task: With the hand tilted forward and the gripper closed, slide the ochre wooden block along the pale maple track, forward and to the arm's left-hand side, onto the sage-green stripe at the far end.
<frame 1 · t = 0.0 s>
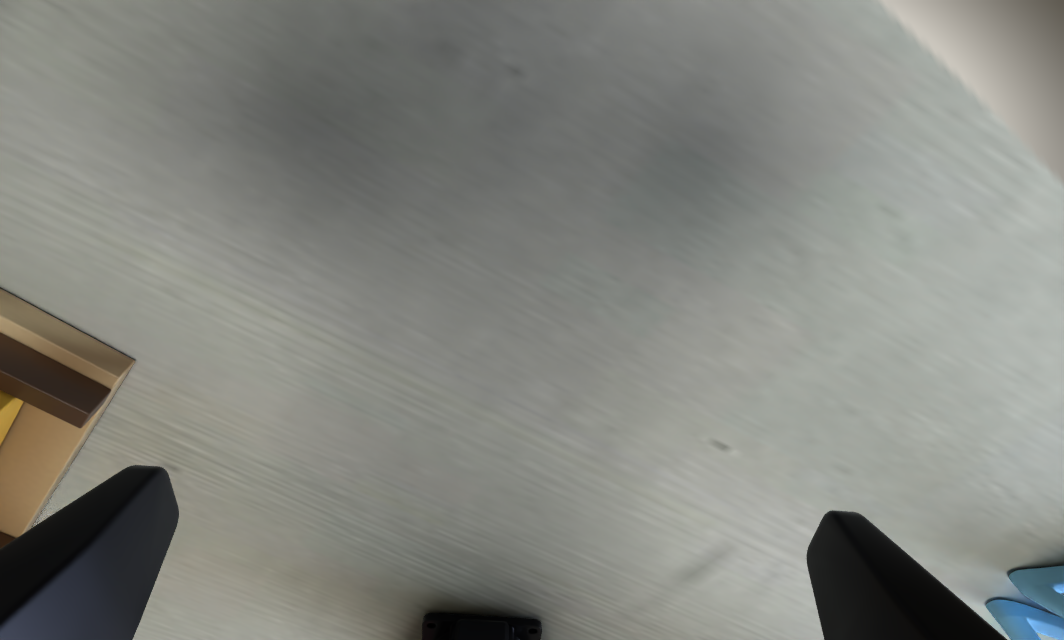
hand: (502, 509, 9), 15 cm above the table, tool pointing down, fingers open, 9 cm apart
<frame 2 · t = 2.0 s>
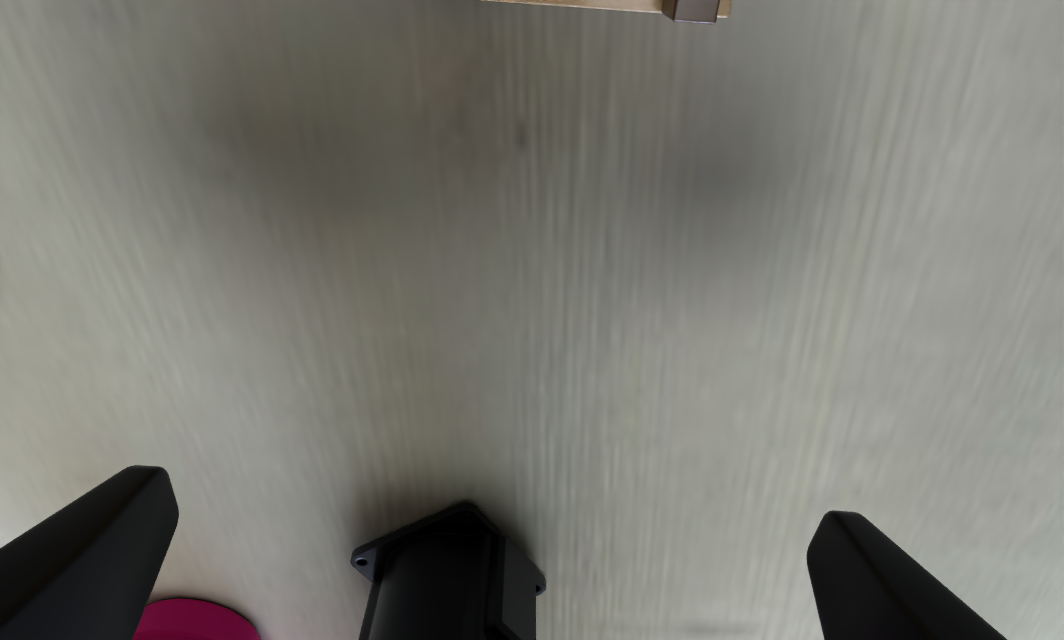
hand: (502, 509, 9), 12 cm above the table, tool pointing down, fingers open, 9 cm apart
pepper mill: (200, 631, 31), on the table
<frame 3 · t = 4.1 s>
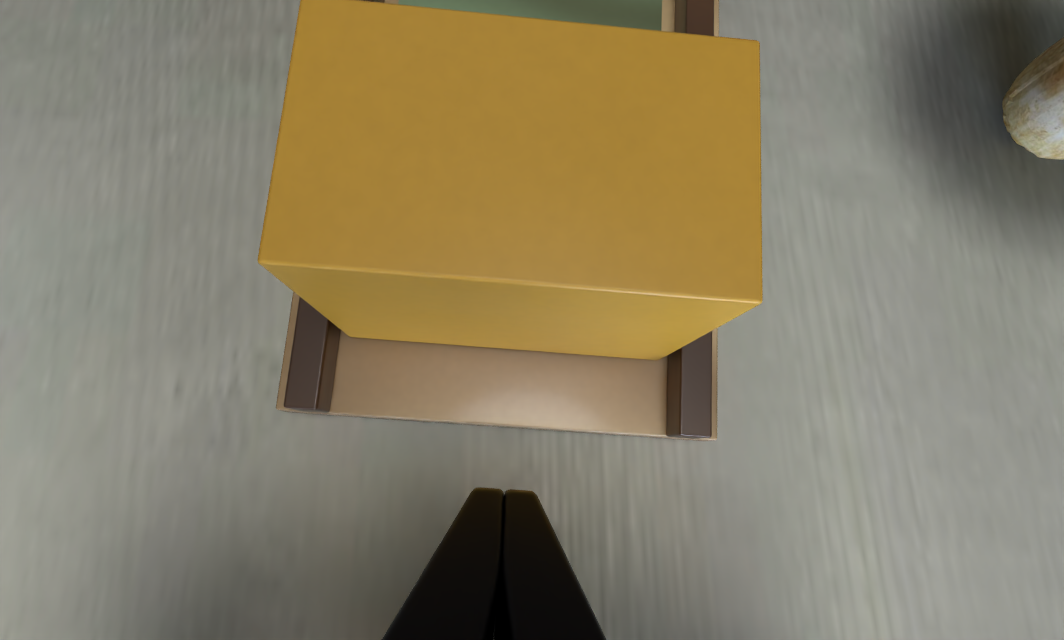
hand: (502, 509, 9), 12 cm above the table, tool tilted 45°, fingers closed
decorative mushroom: (1028, 130, 25), on the table
ochre block: (517, 215, 17), point 5 cm above the table, slide at 0.0 cm
maple track: (521, 133, 23), on the table
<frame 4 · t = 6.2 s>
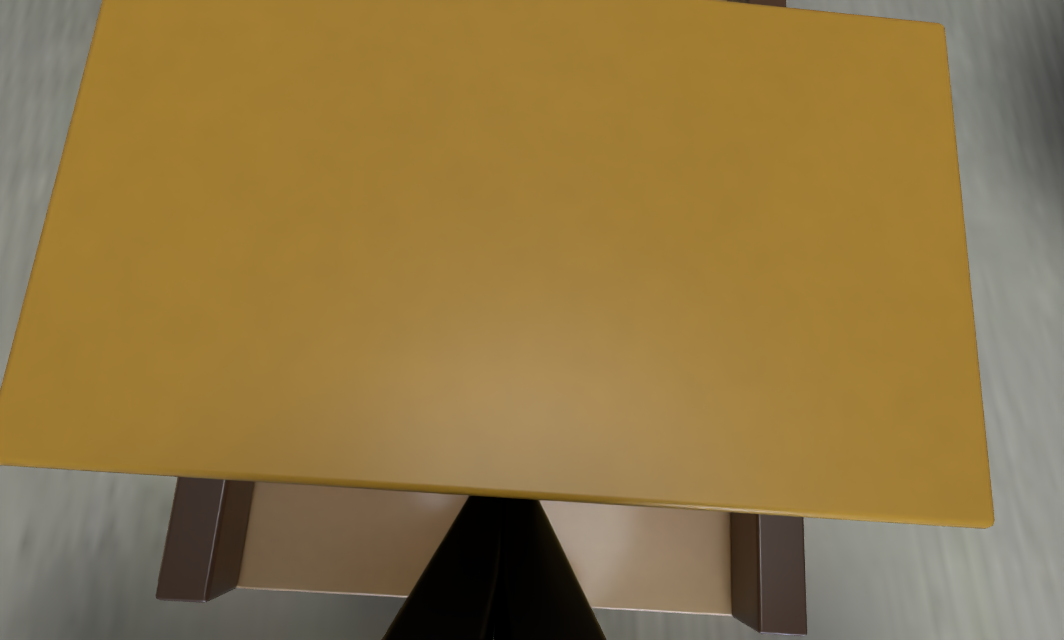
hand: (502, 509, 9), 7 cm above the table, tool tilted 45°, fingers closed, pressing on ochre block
ochre block: (514, 304, 11), point 5 cm above the table, slide at 0.2 cm, touching gripper
maple track: (520, 171, 17), on the table
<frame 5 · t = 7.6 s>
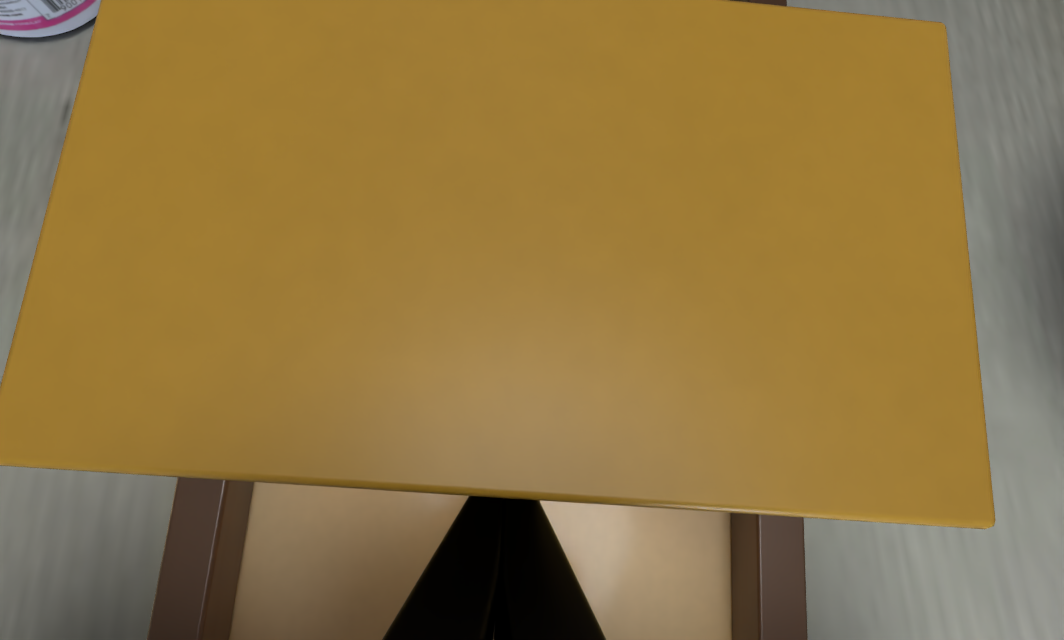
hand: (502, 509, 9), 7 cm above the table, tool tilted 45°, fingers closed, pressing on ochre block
ochre block: (514, 304, 11), point 5 cm above the table, slide at 5.7 cm, touching gripper
maple track: (505, 371, 16), on the table
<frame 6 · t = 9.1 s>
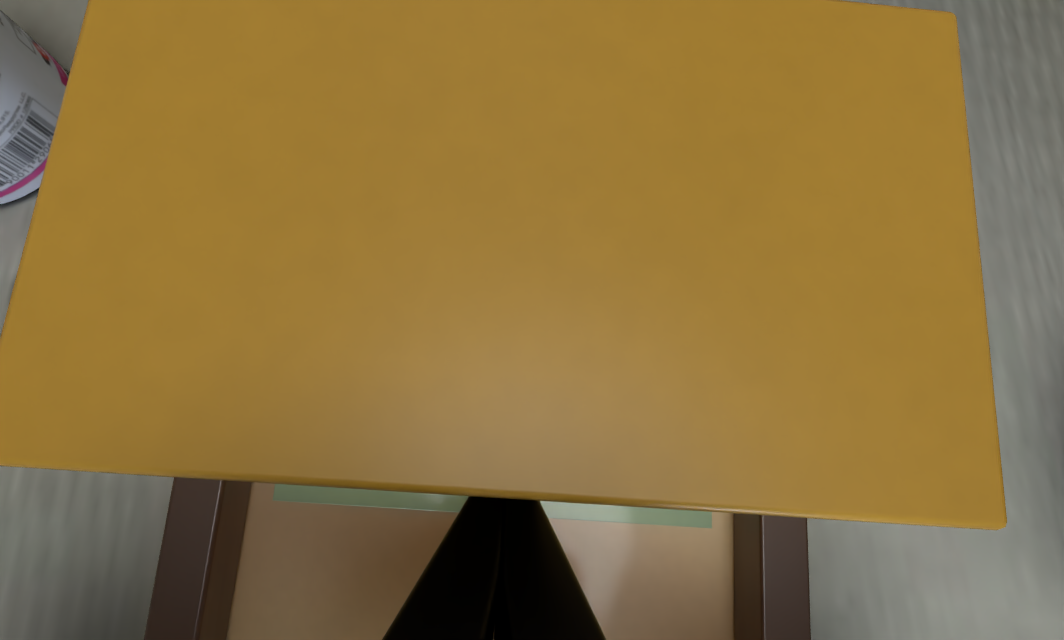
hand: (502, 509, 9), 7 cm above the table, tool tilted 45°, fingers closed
ochre block: (515, 300, 11), point 5 cm above the table, slide at 10.8 cm
maple track: (489, 584, 15), on the table
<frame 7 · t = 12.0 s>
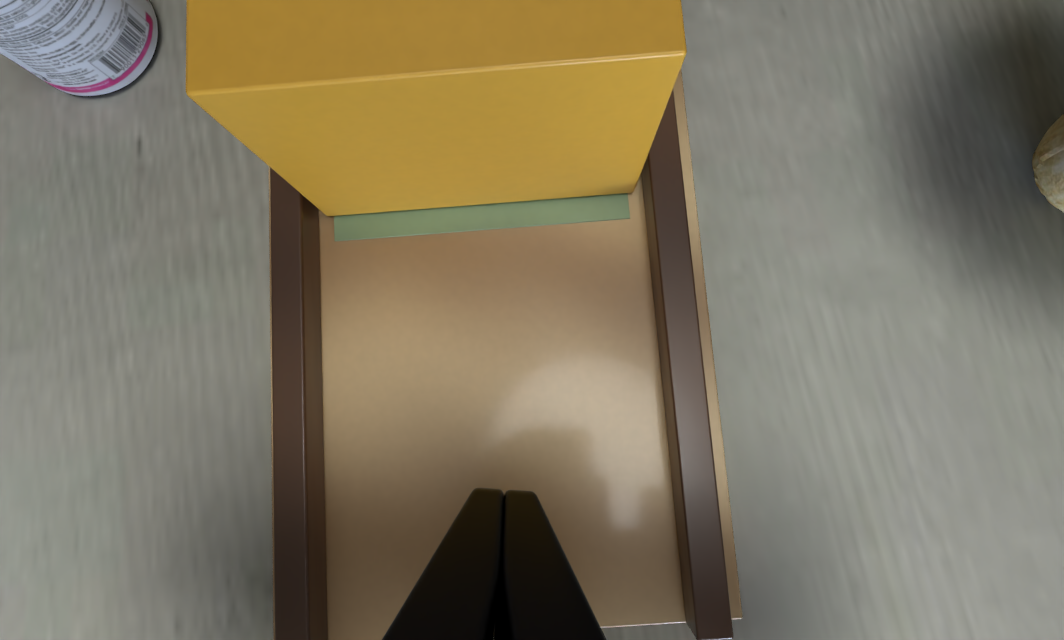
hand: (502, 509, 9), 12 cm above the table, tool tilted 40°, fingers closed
ochre block: (456, 49, 17), point 5 cm above the table, slide at 10.8 cm
pill bottle: (102, 43, 23), on the table
maple track: (488, 287, 21), on the table
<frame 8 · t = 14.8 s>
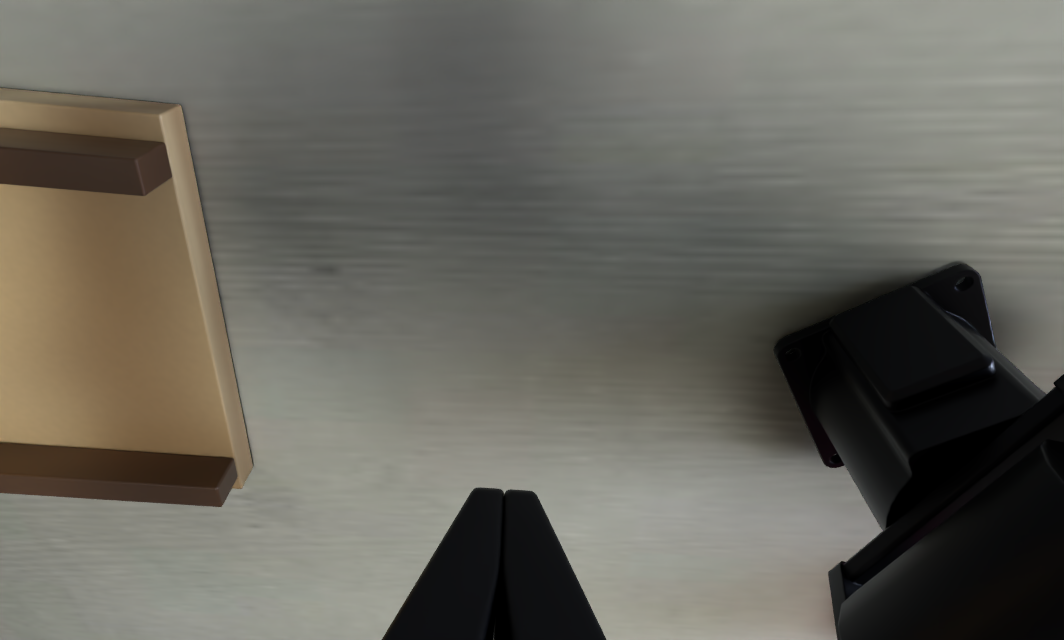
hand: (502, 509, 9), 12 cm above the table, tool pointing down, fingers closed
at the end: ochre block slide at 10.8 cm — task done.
